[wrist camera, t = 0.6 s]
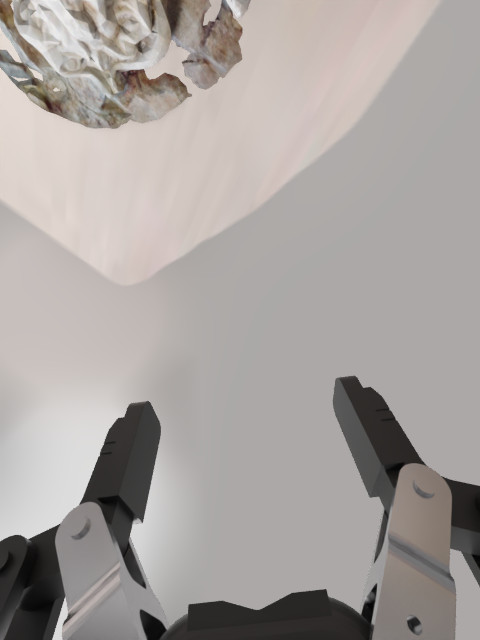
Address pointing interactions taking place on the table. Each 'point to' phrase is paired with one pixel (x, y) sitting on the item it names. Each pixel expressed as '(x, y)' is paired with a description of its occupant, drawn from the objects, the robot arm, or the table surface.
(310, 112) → the table surface
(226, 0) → the grey rough lump
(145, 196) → the table surface
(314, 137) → the table surface
